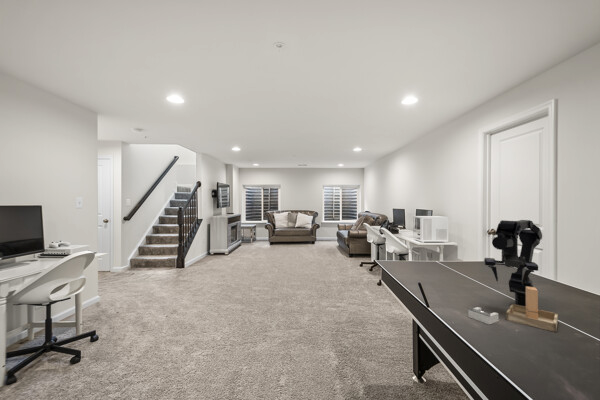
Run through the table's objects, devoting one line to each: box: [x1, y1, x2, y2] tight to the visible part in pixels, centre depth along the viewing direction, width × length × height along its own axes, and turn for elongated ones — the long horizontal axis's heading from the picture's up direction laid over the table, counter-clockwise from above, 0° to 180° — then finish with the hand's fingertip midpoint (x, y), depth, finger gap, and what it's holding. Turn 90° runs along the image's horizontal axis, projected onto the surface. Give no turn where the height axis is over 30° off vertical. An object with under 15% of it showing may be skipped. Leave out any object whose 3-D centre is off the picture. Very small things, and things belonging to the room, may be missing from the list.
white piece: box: [468, 306, 500, 325], centre depth 111 cm, size 8×8×4 cm
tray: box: [505, 303, 559, 333], centre depth 110 cm, size 15×15×3 cm
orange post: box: [526, 286, 539, 319], centre depth 110 cm, size 4×3×13 cm, turn 150°
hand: (509, 283), depth 119 cm, fingers open, 9 cm apart
